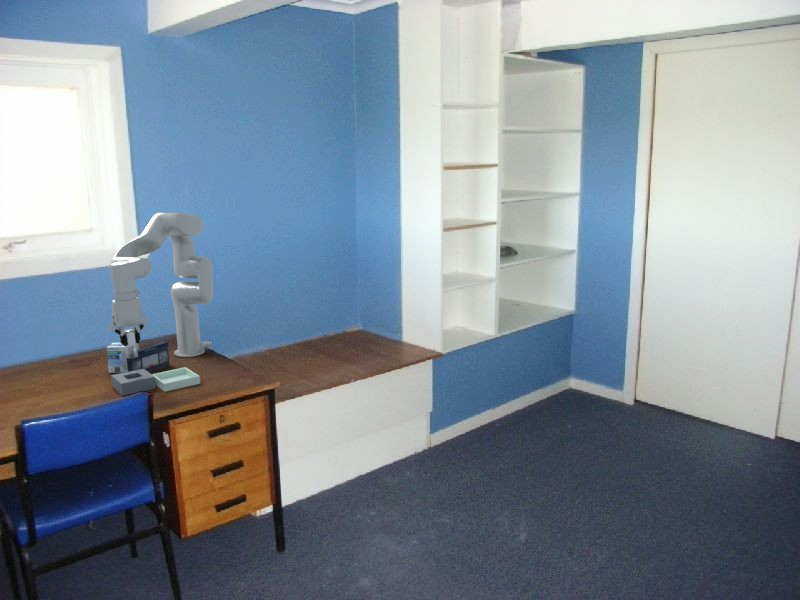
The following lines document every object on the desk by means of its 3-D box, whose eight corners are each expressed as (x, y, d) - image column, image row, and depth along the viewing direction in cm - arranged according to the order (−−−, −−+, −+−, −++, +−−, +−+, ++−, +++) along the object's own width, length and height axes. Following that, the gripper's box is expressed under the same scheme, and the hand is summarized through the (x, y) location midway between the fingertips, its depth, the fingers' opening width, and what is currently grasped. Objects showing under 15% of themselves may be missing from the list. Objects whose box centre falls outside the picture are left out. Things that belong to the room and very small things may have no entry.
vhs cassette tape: (132, 378, 264) (129, 354, 262) (127, 377, 266) (124, 353, 264) (170, 366, 279) (168, 342, 277) (165, 364, 281) (163, 341, 279)
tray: (186, 374, 269) (185, 367, 268) (200, 383, 258) (199, 375, 258) (151, 382, 260) (150, 374, 260) (164, 391, 250) (164, 383, 249)
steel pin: (136, 354, 256) (133, 328, 253) (139, 356, 253) (136, 331, 250) (125, 356, 253) (122, 330, 251) (128, 359, 250) (125, 333, 248)
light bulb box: (108, 373, 271) (105, 347, 269) (114, 367, 278) (112, 342, 275) (135, 372, 271) (133, 346, 269) (141, 367, 278) (138, 341, 276)
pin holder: (144, 379, 263) (143, 368, 262) (155, 388, 254) (154, 376, 253) (112, 386, 255) (111, 375, 254) (122, 395, 246) (121, 383, 245)
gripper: (144, 290, 255) (150, 337, 259) (97, 297, 245) (104, 346, 249) (151, 293, 249) (157, 341, 254) (104, 301, 239) (110, 351, 244)
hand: (130, 343), depth 252 cm, fingers closed on steel pin, 4 cm apart
